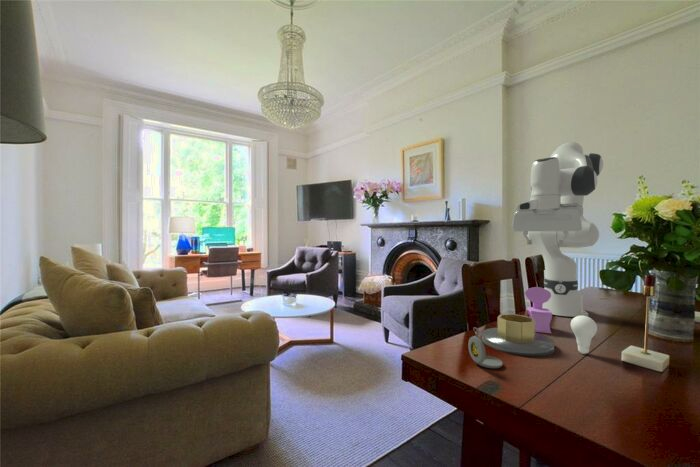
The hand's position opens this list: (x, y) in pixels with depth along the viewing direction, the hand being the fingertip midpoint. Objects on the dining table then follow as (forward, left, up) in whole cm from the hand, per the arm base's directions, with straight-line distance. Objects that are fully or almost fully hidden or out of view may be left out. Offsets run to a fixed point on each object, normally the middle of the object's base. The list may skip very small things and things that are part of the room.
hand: (545, 244), depth 105 cm
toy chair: (-4, -2, -31) cm, 32 cm away
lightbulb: (+14, +10, -31) cm, 35 cm away
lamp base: (+16, -7, -31) cm, 35 cm away
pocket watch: (+38, -12, -31) cm, 50 cm away
